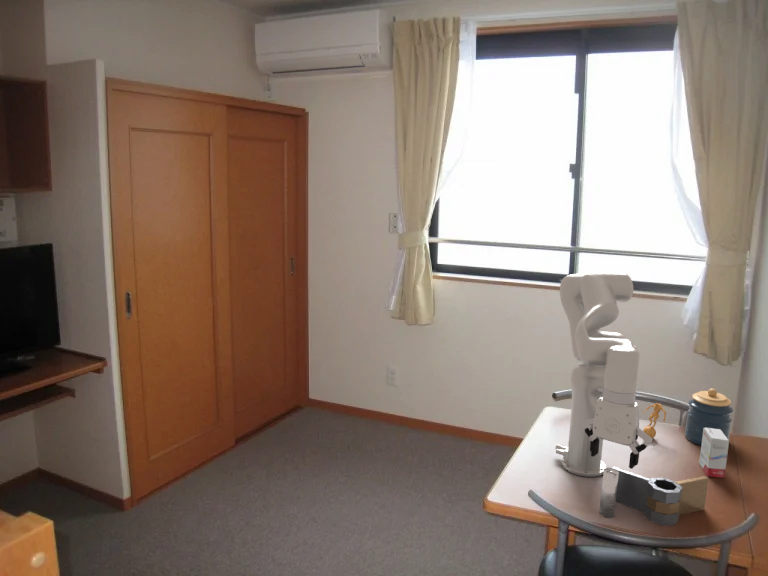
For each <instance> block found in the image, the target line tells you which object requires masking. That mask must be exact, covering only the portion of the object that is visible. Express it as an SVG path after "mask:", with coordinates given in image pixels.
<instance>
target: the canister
mask: <svg viewBox="0 0 768 576" xmlns="http://www.w3.org/2000/svg"><path fill="white" fill-rule="evenodd" d="M691 396H692V398H691V399H690V400H688V405H689V409H688V410H687V411H686V414H687V416H686V417H687V418H686V425H685V427H684V428H685V429H684V434H685V438H686V439H687V440H688V441H690V442H692V444H693V443H694V444H696V445H699V446H701V445H702V437H703V429H704V428H713V429H720V430H721V431H722V432H723V433H724V435H725V436H726V437H727V439H728V440H729V441H730V432H731V431H730V430H731V423H732V421H733V418H732V416H731V415H732V413H733V412H734V407H732V406H731V405H732V401H731V399H730V398H728V397H727V396H726V395H725V394H723V393H720V392H718V391H717V389H715V388H712V387H711V388H709V389H708V390H700V391H698V392H695V393H692V395H691Z"/></svg>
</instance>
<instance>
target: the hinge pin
mask: <svg viewBox="0 0 768 576" xmlns="http://www.w3.org/2000/svg"><path fill="white" fill-rule="evenodd" d="M618 475H619V471H618V470H616V469H614V468H612V467H606V468H604V473H603V476H602V484H601V494H600V495H601V496H600V505H599V514H600V515H601V516H602V517H604V518H613V517H615V514H616V513H615V512H616V503H617V502H616V494H617V485H618Z"/></svg>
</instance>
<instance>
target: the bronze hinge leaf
mask: <svg viewBox="0 0 768 576" xmlns="http://www.w3.org/2000/svg"><path fill="white" fill-rule="evenodd" d="M674 481H675V480H674ZM675 482H676V483H678V484H679V485H680V486H681V487H682V496H681V499H680V501H679V502H678V503H667V504H665V503H663V502H660V501H657V500H654V499H652V498H651V497H650V495H649V494H648V497H647V506H648V507H649V508H651V509H652V510H653V511H655V512H658V513H662V514H667V515H671V514H676V513H679V516H680V515H686V514H690V513H695V512H699V511H704V510H705V507H706V498H707V493H708V492H707V491H708V487H709V485H708V484H709V477H708V476H707V475H703V476H699V477H698V476H697V477H692V478H687V479H682V480H677V481H675ZM679 509H680V512H679Z"/></svg>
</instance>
